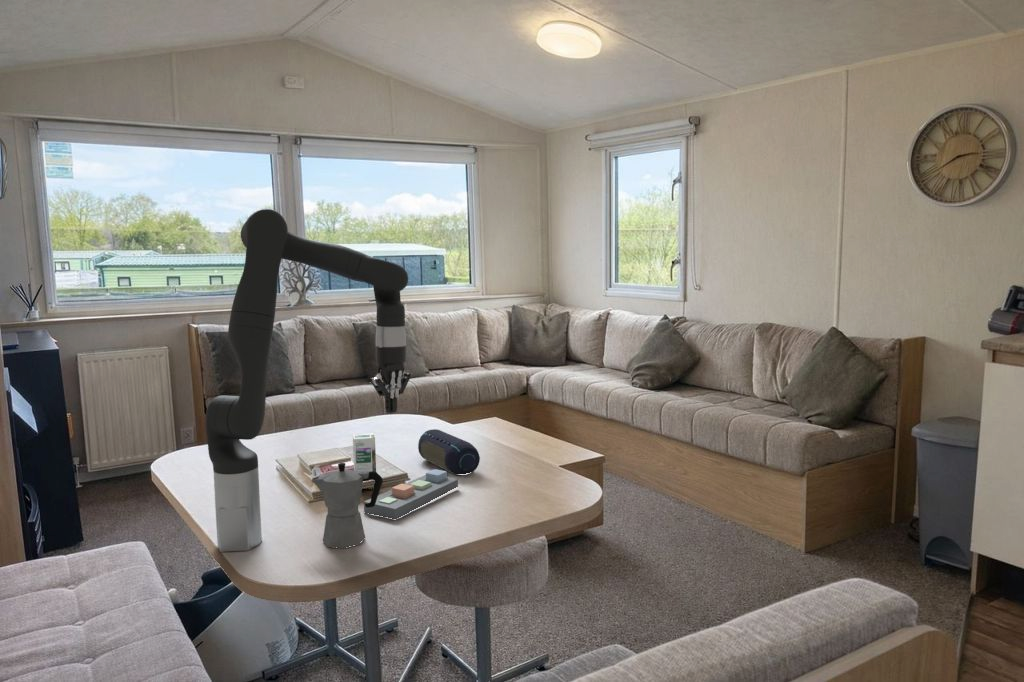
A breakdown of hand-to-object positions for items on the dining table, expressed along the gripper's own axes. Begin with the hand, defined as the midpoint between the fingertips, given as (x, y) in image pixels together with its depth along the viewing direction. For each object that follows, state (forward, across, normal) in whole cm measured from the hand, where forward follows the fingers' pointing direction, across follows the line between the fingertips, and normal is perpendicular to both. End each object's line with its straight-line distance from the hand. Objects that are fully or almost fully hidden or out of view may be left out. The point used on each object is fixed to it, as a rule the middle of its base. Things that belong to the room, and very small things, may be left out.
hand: (391, 412), depth 181 cm
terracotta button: (+23, -1, +3) cm, 23 cm away
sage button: (+23, -8, +3) cm, 25 cm away
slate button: (+22, -15, +3) cm, 27 cm away
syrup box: (+24, -7, -16) cm, 30 cm away
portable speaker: (+23, -33, -8) cm, 41 cm away
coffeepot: (+25, +22, +7) cm, 34 cm away
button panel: (+24, -5, +3) cm, 25 cm away
